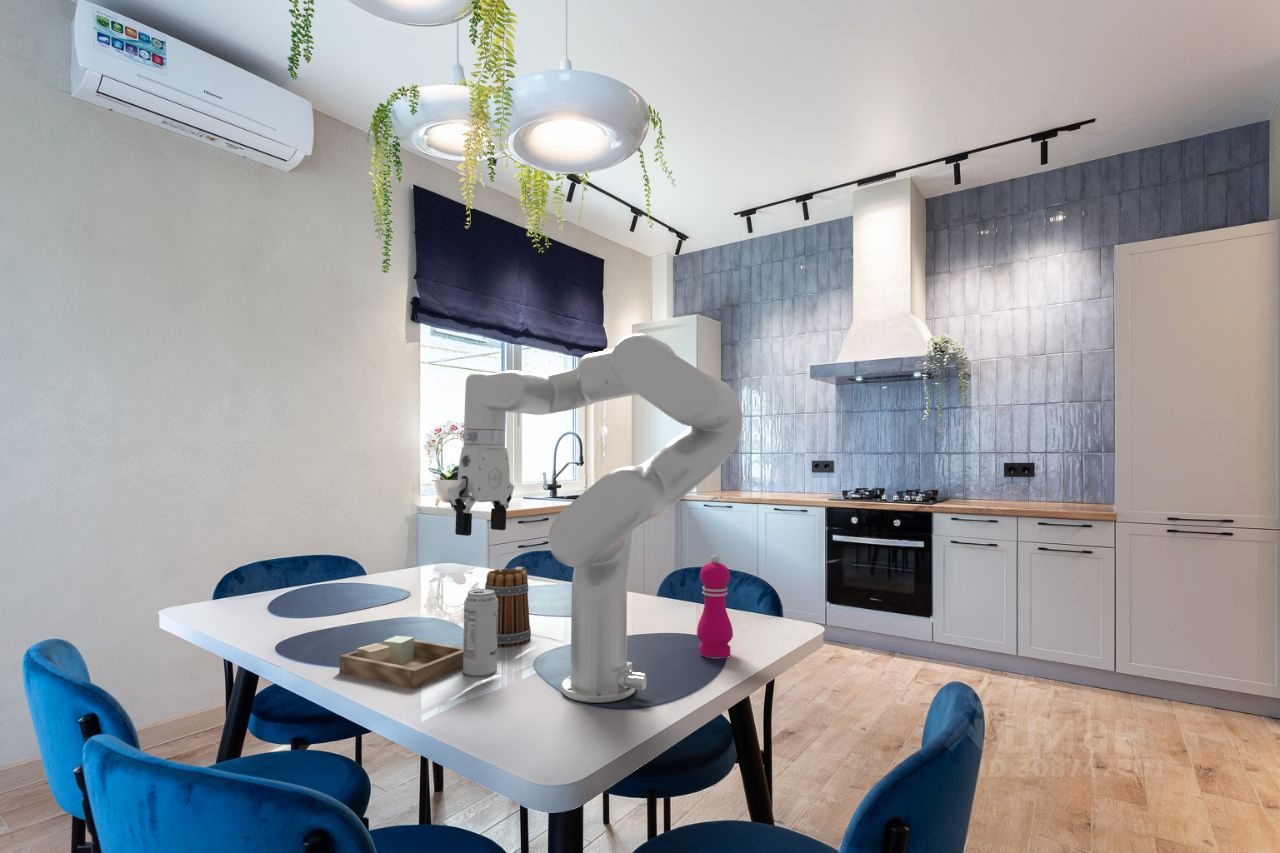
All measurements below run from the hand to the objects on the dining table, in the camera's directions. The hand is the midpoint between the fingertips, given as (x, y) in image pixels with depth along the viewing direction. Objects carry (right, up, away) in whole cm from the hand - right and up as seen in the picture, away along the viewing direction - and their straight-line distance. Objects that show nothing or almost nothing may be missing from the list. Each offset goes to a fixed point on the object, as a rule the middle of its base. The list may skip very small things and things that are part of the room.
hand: (481, 532), depth 123 cm
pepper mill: (+44, -27, +11) cm, 53 cm away
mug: (+1, -27, +20) cm, 34 cm away
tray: (-14, -26, -1) cm, 29 cm away
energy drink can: (0, -26, -2) cm, 26 cm away
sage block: (-17, -25, +4) cm, 30 cm away
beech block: (-19, -25, -2) cm, 32 cm away
